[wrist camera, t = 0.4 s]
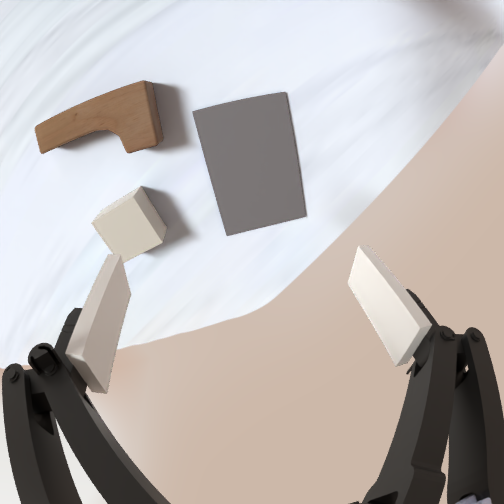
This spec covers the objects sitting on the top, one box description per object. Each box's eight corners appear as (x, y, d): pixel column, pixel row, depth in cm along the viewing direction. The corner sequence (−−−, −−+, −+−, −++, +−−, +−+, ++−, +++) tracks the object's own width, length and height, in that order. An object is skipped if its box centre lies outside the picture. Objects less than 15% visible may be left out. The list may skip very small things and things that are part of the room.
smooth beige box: (102, 209, 39) (91, 223, 35) (141, 185, 38) (133, 196, 34) (128, 247, 43) (121, 264, 39) (167, 227, 42) (162, 242, 38)
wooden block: (158, 145, 31) (48, 183, 31) (164, 140, 35) (62, 174, 34) (145, 79, 26) (33, 127, 26) (152, 81, 30) (48, 122, 30)
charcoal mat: (192, 111, 33) (192, 111, 33) (284, 91, 34) (285, 91, 33) (226, 234, 44) (226, 236, 44) (304, 215, 44) (305, 216, 44)
